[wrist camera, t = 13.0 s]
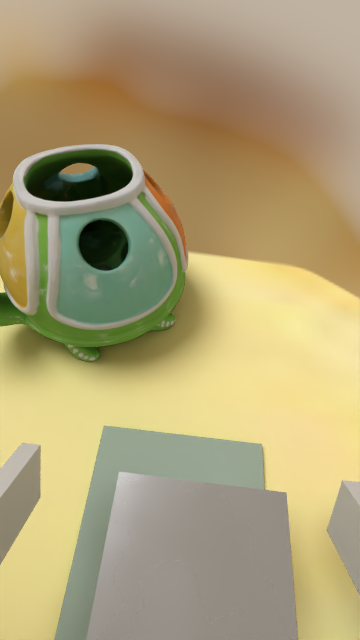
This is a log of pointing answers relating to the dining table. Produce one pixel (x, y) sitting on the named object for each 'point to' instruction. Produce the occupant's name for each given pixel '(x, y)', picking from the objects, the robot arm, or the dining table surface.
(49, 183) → the turtle holder
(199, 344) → the dining table surface
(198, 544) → the gray rectangular brick
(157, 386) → the dining table surface
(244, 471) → the mat
